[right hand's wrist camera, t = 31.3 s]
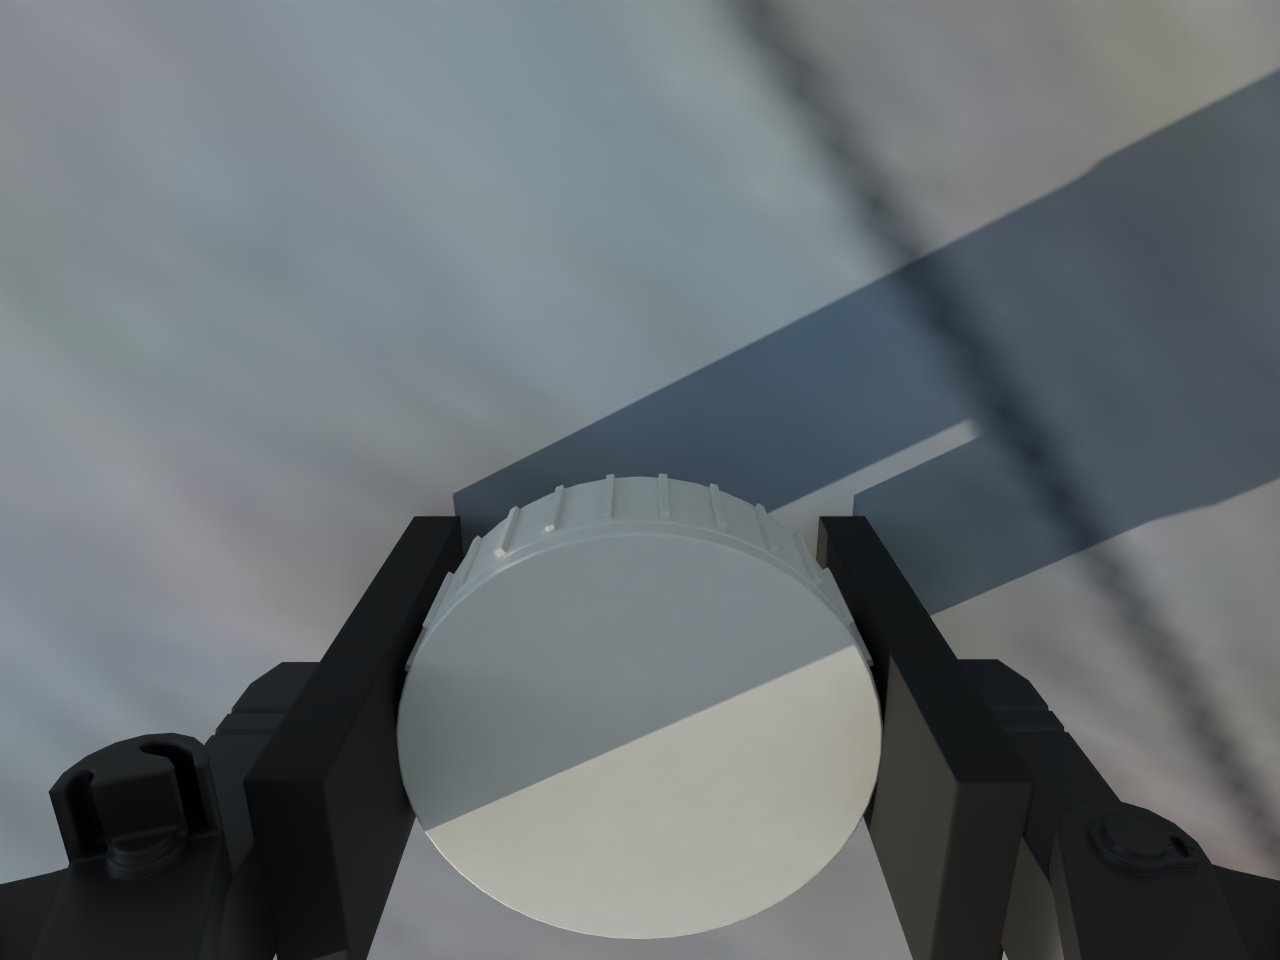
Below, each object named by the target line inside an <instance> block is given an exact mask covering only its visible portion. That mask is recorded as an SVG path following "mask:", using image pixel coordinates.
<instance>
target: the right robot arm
mask: <svg viewBox="0 0 1280 960" xmlns="http://www.w3.org/2000/svg"><path fill="white" fill-rule="evenodd" d="M462 561H463V551H462V538H461V526H460V516H414V518H413V520H412V521H411V523H410V524H409V526H408V527H407V529H406V530H405V532H404V533H403V535H402V536H401V538H400V540H399V541H398V543H397V544H396V546H395V547H394V549H393V550H392V552H391V553H390V555H389V556H388V558H387V560H386V561H385V563H384V564H383V566H382V567H381V569H380V570H379V572H378V573H377V575H376V576H375V578H374V580H373V581H372V583H371V584H370V586H369V587H368V589H367V590H366V592H365V593H364V595H363V596H362V598H361V600H360V601H359V603H358V604H357V606H356V607H355V609H354V610H353V612H352V613H351V615H350V616H349V618H348V620H347V621H346V623H345V624H344V626H343V627H342V629H341V630H340V632H339V633H338V635H337V636H336V638H335V640H334V641H333V643H332V644H331V646H330V647H329V649H328V650H327V652H326V653H325V655H324V656H323V658H322V660H321V661H320V662H282V663H280V664H279V665H277V666H276V667H274V668H273V669H271V670H270V671H268V672H267V673H266V674H264V675H263V676H261V677H260V678H258V679H257V680H255V681H254V682H252V683H251V684H250V685H249V687H248V688H247V689H246V690H245V692H244V693H243V694H242V696H241V697H240V698H239V700H238V701H237V702H236V704H235V705H234V706H233V708H232V712H231V714H227V716H226V717H225V718H224V720H223V721H222V722H221V724H220V725H219V726H218V727H217V729H216V734H215V735H211V737H210V738H209V739H208V741H207V742H206V743H205V745H203V744H202V743H200V742H199V741H198V740H197V739H196V738H194V737H190V736H186V735H181V734H176V733H163V734H148V735H142V736H139V737H135V738H131V739H127V740H123V741H120V742H116V743H114V744H112V745H109V746H107V747H105V748H103V749H101V750H99V751H96V752H94V753H92V754H90V755H88V756H86V757H85V758H83V759H82V760H81V761H79V762H78V763H76V764H75V765H74V766H72V767H71V768H69V769H68V770H67V771H65V772H64V773H63V774H62V775H61V777H60V778H59V779H58V780H57V782H56V783H55V784H54V785H53V787H52V788H51V789H50V791H49V794H50V798H51V801H52V805H53V808H54V812H55V815H56V818H57V822H58V825H59V829H60V832H61V836H62V839H63V842H64V846H65V849H66V853H67V856H68V860H69V866H68V868H66V869H62V870H59V871H55V872H52V873H48V874H44V875H39V876H35V877H31V878H26V879H22V880H17V881H13V882H9V883H4V884H0V960H273V958H274V956H275V954H276V955H277V960H366V959H367V956H368V953H369V950H370V947H371V944H372V941H373V938H374V936H375V933H376V930H377V927H378V924H379V921H380V918H381V915H382V913H383V910H384V907H385V904H386V901H387V898H388V895H389V892H390V889H391V887H392V884H393V881H394V878H395V875H396V872H397V869H398V866H399V864H400V861H401V858H402V855H403V852H404V849H405V846H406V843H407V841H408V838H409V835H410V832H411V829H412V826H413V823H414V820H415V817H416V815H415V813H414V811H413V809H412V806H411V804H410V801H409V798H408V796H407V793H406V790H405V788H404V785H403V781H402V776H401V772H400V764H399V756H398V747H397V737H396V725H397V715H398V706H399V701H400V697H401V693H402V690H403V686H404V682H405V678H406V676H407V673H408V671H405V670H404V669H405V665H406V663H407V661H408V658H409V656H410V654H411V652H412V650H413V648H414V646H415V644H416V642H417V639H418V637H419V635H420V633H421V631H422V629H423V623H424V621H425V619H426V617H427V615H428V613H429V611H430V608H431V606H432V604H433V602H434V600H435V598H436V596H437V594H438V592H439V590H440V587H441V585H442V583H443V581H444V579H445V577H446V575H447V574H448V572H451V573H453V574H455V572H456V570H457V569H458V567H459V566H460V564H461V563H462ZM816 561H817V562H818V564H819V565H820V567H821V568H822V570H824V569H825V568H827V567H828V568H829V570H830V571H831V573H832V575H833V577H834V579H835V581H836V584H837V586H838V588H839V590H840V592H841V594H842V596H843V598H844V600H845V603H846V605H847V607H848V609H849V611H850V613H851V615H852V617H853V620H854V622H855V624H856V626H857V629H858V631H859V633H860V635H861V637H862V639H863V641H864V643H865V645H866V648H867V650H868V652H869V654H870V656H871V658H872V661H873V664H874V665H873V666H870V667H869V668H870V670H871V672H872V675H873V679H874V682H875V685H876V689H877V692H878V695H879V698H880V706H881V713H882V720H883V740H882V750H881V759H880V767H879V774H878V780H877V782H876V785H875V788H874V791H873V794H872V797H871V800H870V803H869V805H868V807H867V809H866V811H865V813H864V815H863V817H864V819H865V822H866V825H867V828H868V831H869V834H870V837H871V840H872V843H873V845H874V848H875V851H876V854H877V857H878V860H879V863H880V866H881V868H882V871H883V874H884V877H885V880H886V883H887V886H888V889H889V892H890V894H891V897H892V900H893V903H894V906H895V909H896V912H897V915H898V917H899V920H900V923H901V926H902V929H903V932H904V935H905V938H906V941H907V943H908V946H909V949H910V952H911V955H912V958H913V960H1002V956H1003V950H1004V951H1005V954H1006V956H1007V958H1008V960H1280V881H1279V880H1274V879H1270V878H1265V877H1261V876H1256V875H1252V874H1248V873H1243V872H1239V871H1234V870H1230V869H1227V868H1223V867H1220V866H1216V865H1213V864H1211V862H1210V860H1209V859H1208V857H1207V856H1206V854H1205V853H1204V852H1203V850H1202V849H1201V847H1200V846H1199V844H1198V843H1197V842H1196V841H1195V840H1194V839H1193V838H1192V837H1190V836H1189V835H1188V834H1187V833H1186V832H1184V831H1183V830H1182V829H1181V828H1179V827H1178V826H1177V825H1176V824H1175V823H1173V822H1171V821H1169V820H1167V819H1165V818H1163V817H1161V816H1159V815H1157V814H1155V813H1153V812H1151V811H1150V810H1148V809H1145V808H1141V807H1138V806H1134V805H1131V804H1128V803H1124V802H1121V801H1120V800H1119V798H1118V797H1117V796H1116V794H1115V793H1114V792H1113V790H1112V789H1111V788H1110V787H1109V785H1108V784H1107V783H1106V781H1105V780H1104V779H1103V777H1102V776H1101V775H1100V773H1099V772H1098V771H1097V769H1096V768H1095V767H1094V766H1093V764H1092V763H1091V762H1090V760H1089V759H1088V758H1087V756H1086V755H1085V754H1084V752H1083V751H1082V750H1081V748H1080V747H1079V746H1078V745H1077V743H1076V742H1075V741H1074V739H1073V738H1072V737H1071V735H1070V734H1069V733H1068V732H1065V731H1064V726H1063V725H1062V723H1061V722H1060V721H1059V720H1058V718H1057V717H1056V716H1055V714H1054V713H1053V712H1052V711H1049V710H1048V705H1047V704H1046V702H1045V701H1044V700H1043V699H1042V697H1041V696H1040V695H1039V693H1038V692H1037V691H1036V689H1035V688H1034V687H1033V685H1032V684H1031V683H1030V681H1028V680H1027V679H1026V678H1024V677H1023V676H1021V675H1020V674H1018V673H1017V672H1015V671H1014V670H1012V669H1011V668H1009V667H1008V666H1006V665H1005V664H1003V663H1002V662H1001V661H999V660H998V659H957V658H956V656H955V655H954V653H953V651H952V650H951V648H950V647H949V645H948V644H947V642H946V641H945V639H944V638H943V636H942V635H941V633H940V631H939V630H938V628H937V627H936V625H935V624H934V622H933V621H932V619H931V618H930V616H929V615H928V613H927V611H926V610H925V608H924V607H923V605H922V604H921V602H920V601H919V599H918V598H917V596H916V595H915V593H914V591H913V590H912V588H911V587H910V585H909V584H908V582H907V581H906V579H905V578H904V576H903V574H902V573H901V571H900V570H899V568H898V567H897V565H896V564H895V562H894V561H893V559H892V558H891V556H890V554H889V553H888V551H887V550H886V548H885V547H884V545H883V544H882V542H881V541H880V539H879V538H878V536H877V534H876V533H875V531H874V530H873V528H872V527H871V525H870V524H869V522H868V521H867V519H866V517H865V516H820V517H819V530H818V542H817V555H816Z"/></svg>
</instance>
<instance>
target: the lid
mask: <svg viewBox="0 0 1280 960" xmlns="http://www.w3.org/2000/svg"><path fill="white" fill-rule="evenodd" d="M873 665H874V664H873V661H872V658H871V656H870V654H869V652H868V650H867V648H866V645H865V643H864V641H863V639H862V637H861V635H860V633H859V631H858V629H857V626H856V624H855V622H854V620H853V617H852V615H851V613H850V611H849V609H848V607H847V605H846V603H845V600H844V598H843V596H842V594H841V592H840V590H839V588H838V586H837V584H836V581H835V579H834V577H833V575H832V573H831V571H830V570H829V568H828V567H827V568H825V569H824V570H822V568H821V567H820V565H819V564H818V562H817V561H816V559H815V558H814V556H813V555H812V554H811V553H810V552H809V550H808V548H807V545H806V543H805V541H804V539H803V536H802V535H801V534H800V533H799V532H797V533H795V534H794V535H793V534H792V533H791V532H790V531H788V530H787V529H786V528H785V527H784V526H782V525H781V524H780V523H779V522H778V521H776V520H775V519H774V518H772V517H771V516H769V515H768V514H767V513H766V511H765V508H764V506H762V505H761V504H759V503H757V505H756V506H753V505H751V504H750V503H748V502H745V501H743V500H741V499H739V498H737V497H734V496H732V495H730V494H728V493H726V492H723V491H720V490H719V488H718V485H715V484H712V483H711V484H710V486H709V487H707V486H704V485H700V484H697V483H692V482H687V481H681V480H675V479H670V478H667V474H659V478H657V477H623V478H615V475H614V474H609V475H606V479H603V480H598V481H593V482H588V483H583V484H578V485H575V486H572V487H569V488H566V489H565V488H564V485H561V486H558V487H556V489H555V492H554V493H551V494H549V495H547V496H545V497H543V498H541V499H538V500H536V501H534V502H532V503H530V504H528V505H526V506H524V507H523V508H521V509H519V508H518V507H517V506H515V507H514V508H512V509H511V510H510V513H509V515H508V517H507V518H506V519H504V520H503V521H501V522H500V523H499V524H498V525H497V526H496V527H495V528H493V529H492V530H491V531H490V532H489V533H488V534H487V535H485V536H484V537H483V538H481V537H479V536H477V537H476V538H475V539H474V540H473V542H472V544H471V546H470V548H469V551H468V553H467V555H466V557H465V558H464V560H463V561H462V563H461V564H460V566H459V567H458V569H457V570H456V572H455V574H453V573H451V572H448V574H447V575H446V577H445V579H444V581H443V583H442V585H441V587H440V590H439V592H438V594H437V596H436V598H435V600H434V602H433V604H432V606H431V608H430V611H429V613H428V615H427V617H426V619H425V621H424V623H423V629H422V631H421V633H420V635H419V637H418V639H417V642H416V644H415V646H414V648H413V650H412V652H411V654H410V656H409V658H408V661H407V663H406V665H405V669H404V670H405V671H408V673H407V676H406V678H405V682H404V686H403V690H402V693H401V697H400V701H399V706H398V715H397V725H396V737H397V747H398V756H399V764H400V772H401V776H402V781H403V785H404V788H405V790H406V793H407V796H408V798H409V801H410V804H411V806H412V809H413V811H414V813H415V815H416V816H417V818H418V820H419V822H420V824H421V825H422V827H423V829H424V831H425V833H426V834H427V835H428V837H429V838H430V839H431V841H432V842H433V843H434V845H435V846H436V847H437V849H438V850H439V851H440V853H441V854H442V855H443V856H444V857H445V858H446V859H447V860H448V861H449V862H450V863H451V864H452V865H453V866H454V867H455V868H456V869H457V870H458V871H459V872H460V873H461V874H462V875H463V876H464V877H466V878H467V879H468V880H469V881H471V882H472V883H473V884H474V885H476V886H477V887H478V888H479V889H480V890H482V891H483V892H485V893H487V894H488V895H490V896H491V897H493V898H495V899H496V900H498V901H499V902H501V903H502V904H504V905H506V906H508V907H510V908H512V909H514V910H516V911H518V912H520V913H522V914H524V915H527V916H529V917H531V918H534V919H536V920H539V921H542V922H545V923H548V924H550V925H553V926H556V927H559V928H563V929H568V930H572V931H576V932H580V933H584V934H590V935H597V936H604V937H612V938H631V939H650V938H667V937H676V936H682V935H688V934H695V933H701V932H704V931H708V930H712V929H716V928H719V927H723V926H727V925H730V924H732V923H735V922H738V921H740V920H743V919H745V918H748V917H751V916H753V915H755V914H757V913H759V912H761V911H763V910H765V909H767V908H769V907H771V906H773V905H775V904H777V903H779V902H781V901H782V900H784V899H785V898H787V897H788V896H790V895H791V894H793V893H794V892H796V891H797V890H799V889H800V888H802V887H803V886H804V885H805V884H807V883H808V882H809V881H810V880H811V879H813V878H814V877H815V876H816V875H817V874H818V873H820V872H821V871H822V870H823V869H824V868H825V867H826V866H827V865H828V864H829V863H830V862H831V860H832V859H833V858H834V857H835V856H836V855H837V854H838V853H839V852H840V851H841V850H842V848H843V847H844V845H845V844H846V843H847V841H848V840H849V838H850V837H851V835H852V834H853V833H854V831H855V830H856V828H857V827H858V825H859V823H860V821H861V819H862V817H863V815H864V813H865V811H866V809H867V807H868V805H869V803H870V800H871V797H872V794H873V791H874V788H875V785H876V782H877V780H878V774H879V767H880V759H881V750H882V740H883V720H882V713H881V706H880V698H879V695H878V692H877V689H876V685H875V682H874V679H873V675H872V672H871V670H870V668H869V667H870V666H873Z"/></svg>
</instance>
